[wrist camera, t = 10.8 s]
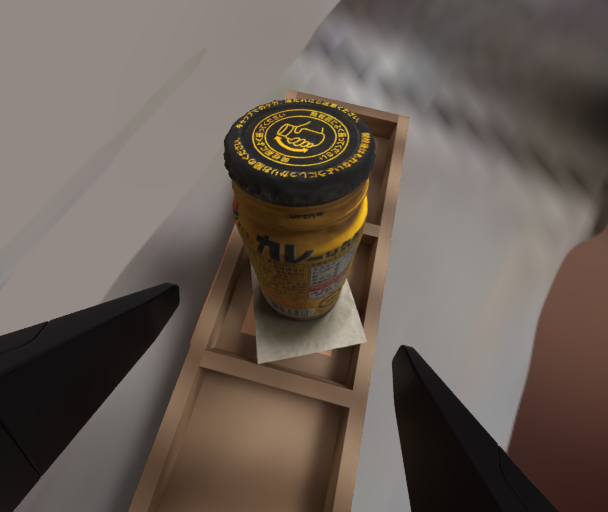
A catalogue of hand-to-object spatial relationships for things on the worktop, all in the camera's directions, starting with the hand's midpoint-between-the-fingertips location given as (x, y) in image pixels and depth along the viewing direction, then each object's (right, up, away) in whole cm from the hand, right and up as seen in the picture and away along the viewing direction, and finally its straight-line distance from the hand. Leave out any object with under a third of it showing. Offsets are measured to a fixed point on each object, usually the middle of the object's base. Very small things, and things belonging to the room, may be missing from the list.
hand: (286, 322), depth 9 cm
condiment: (+1, 0, +9) cm, 9 cm away
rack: (0, -1, +10) cm, 10 cm away
